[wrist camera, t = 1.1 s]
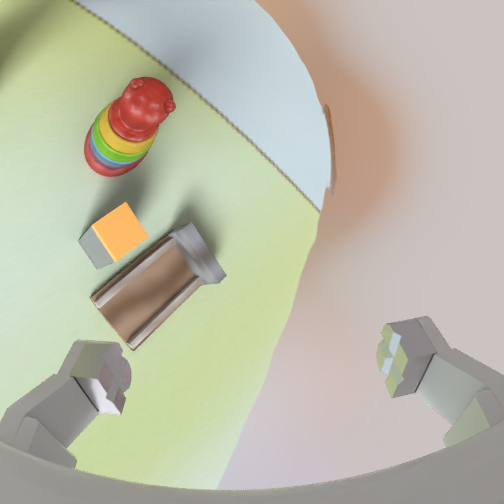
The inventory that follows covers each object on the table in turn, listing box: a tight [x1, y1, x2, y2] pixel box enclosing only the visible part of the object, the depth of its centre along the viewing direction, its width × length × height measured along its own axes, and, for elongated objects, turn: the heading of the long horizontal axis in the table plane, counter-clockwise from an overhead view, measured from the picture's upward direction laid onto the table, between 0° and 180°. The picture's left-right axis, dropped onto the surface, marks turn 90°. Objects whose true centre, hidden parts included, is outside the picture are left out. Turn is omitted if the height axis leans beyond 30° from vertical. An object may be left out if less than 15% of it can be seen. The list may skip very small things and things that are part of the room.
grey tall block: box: [78, 202, 149, 269], centre depth 36 cm, size 5×5×11 cm
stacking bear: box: [84, 77, 176, 177], centre depth 36 cm, size 11×10×18 cm
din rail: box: [90, 222, 227, 351], centre depth 43 cm, size 10×18×6 cm, turn 132°
